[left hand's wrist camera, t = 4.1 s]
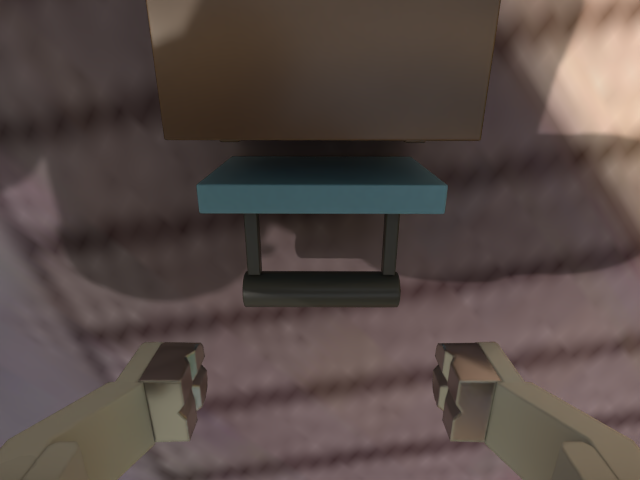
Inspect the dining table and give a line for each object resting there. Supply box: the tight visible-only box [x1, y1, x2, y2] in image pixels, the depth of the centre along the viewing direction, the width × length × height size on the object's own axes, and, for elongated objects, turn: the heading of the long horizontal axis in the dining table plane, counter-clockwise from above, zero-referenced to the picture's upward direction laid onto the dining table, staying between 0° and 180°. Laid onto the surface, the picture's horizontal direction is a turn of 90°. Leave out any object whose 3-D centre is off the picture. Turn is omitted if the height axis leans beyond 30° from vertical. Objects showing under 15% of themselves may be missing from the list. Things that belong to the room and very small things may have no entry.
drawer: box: [196, 140, 448, 307], centre depth 16 cm, size 26×10×7 cm, turn 0°
